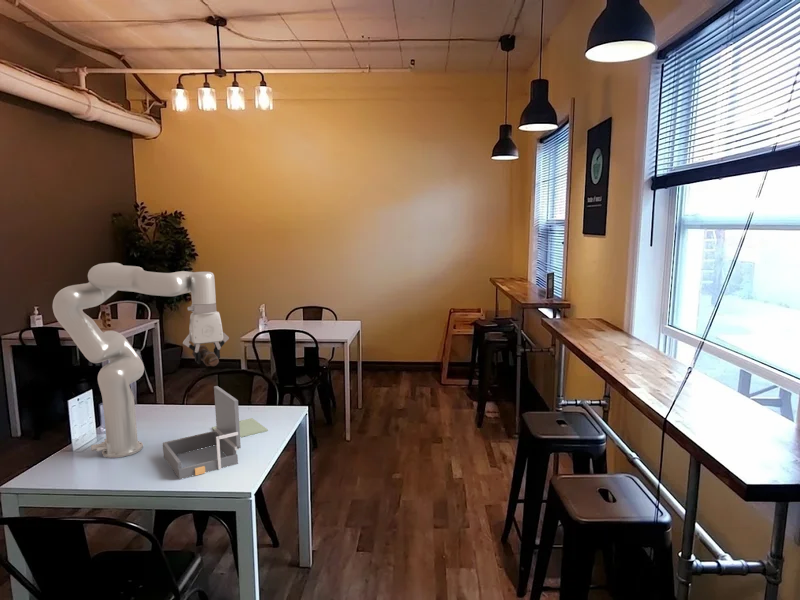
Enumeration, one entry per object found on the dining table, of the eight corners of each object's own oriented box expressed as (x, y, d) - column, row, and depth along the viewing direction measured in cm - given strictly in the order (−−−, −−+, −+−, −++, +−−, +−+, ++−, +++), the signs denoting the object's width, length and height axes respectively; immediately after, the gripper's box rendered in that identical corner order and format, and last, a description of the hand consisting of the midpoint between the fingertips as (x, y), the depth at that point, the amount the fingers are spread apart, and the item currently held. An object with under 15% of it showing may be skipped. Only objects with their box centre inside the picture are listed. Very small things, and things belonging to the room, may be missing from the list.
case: (180, 480, 162) (175, 413, 159) (163, 456, 179) (158, 396, 176) (242, 463, 173) (238, 400, 170) (220, 442, 190) (217, 385, 188)
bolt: (212, 373, 174) (198, 363, 186) (225, 363, 177) (210, 354, 189) (202, 359, 172) (189, 350, 184) (216, 350, 174) (201, 341, 186)
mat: (225, 441, 192) (225, 439, 192) (211, 428, 204) (211, 427, 204) (267, 430, 201) (267, 429, 201) (252, 419, 214) (252, 418, 214)
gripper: (179, 312, 170) (183, 368, 172) (233, 307, 179) (236, 360, 182) (174, 310, 176) (178, 363, 178) (226, 305, 186) (229, 356, 188)
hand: (207, 361), depth 180 cm, fingers closed on bolt, 5 cm apart
